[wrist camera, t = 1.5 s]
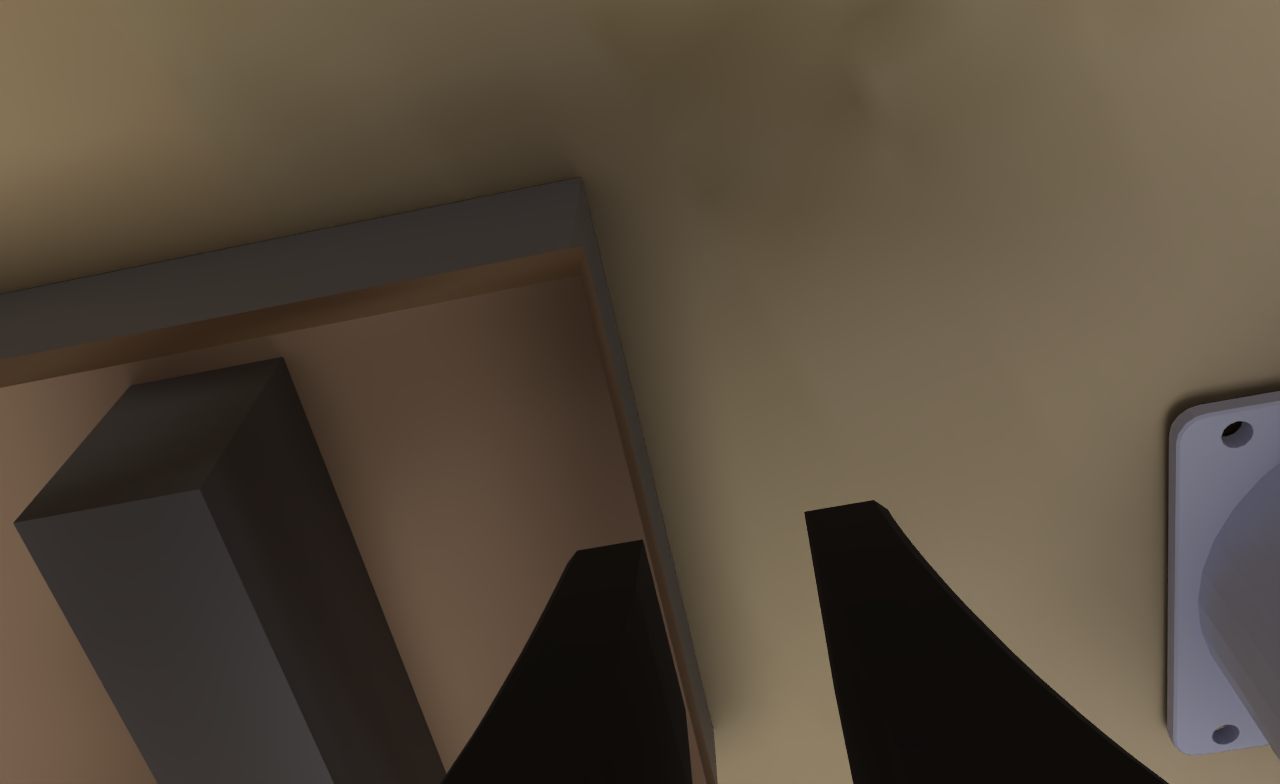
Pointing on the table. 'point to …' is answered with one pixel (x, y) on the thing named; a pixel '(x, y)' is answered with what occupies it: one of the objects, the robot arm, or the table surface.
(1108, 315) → the table surface
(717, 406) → the table surface
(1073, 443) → the table surface
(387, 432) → the lid
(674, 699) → the robot arm
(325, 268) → the storage box
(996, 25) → the table surface
